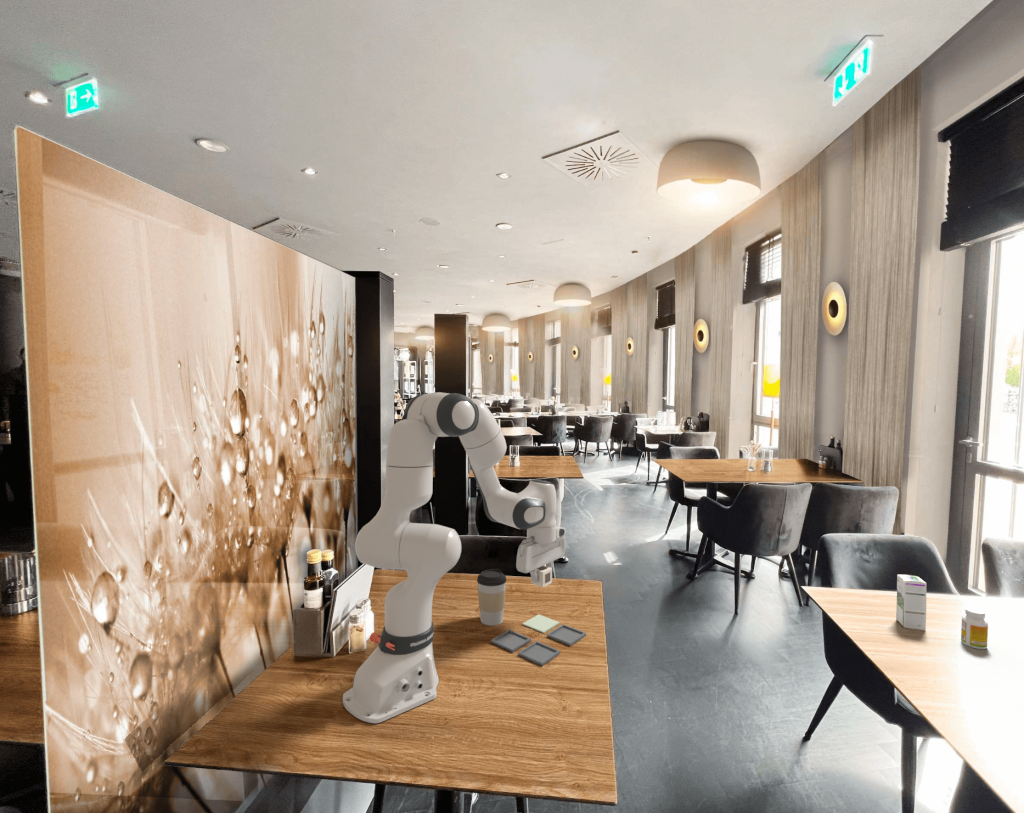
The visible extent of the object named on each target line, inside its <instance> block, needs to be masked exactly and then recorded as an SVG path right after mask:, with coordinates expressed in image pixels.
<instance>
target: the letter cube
mask: <svg viewBox="0 0 1024 813" xmlns="http://www.w3.org/2000/svg"><path fill="white" fill-rule="evenodd" d="M536 573H537V575H538V576H539V581H538V582H536V583H535V582H532V576H531V575H530V583H531V585H535V586H538V587H541V588H545V587H546V586H548V585H551V584H553V567H552V568H550V567H547V566H546V565H543V566H541V567H539V568H537V572H536Z"/></svg>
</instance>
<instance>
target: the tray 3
mask: <svg viewBox="0 0 1024 813" xmlns="http://www.w3.org/2000/svg"><path fill="white" fill-rule="evenodd" d="M586 636H587V632H585V631H583V630H580V629H578V628H577V629H576V628H574V627H573V626H569V625H568V624H564V623H563V624H561V625H559V626H558V627H557V628H554V629H553V630H552V631H550V632H549V633H547V635H546V637H547V638H549V639H552V640H554V641H557V642H559V643H562V644H564V645H567V646H569V647H572V646H573V645H575V644H576V643H577V642H579V641H581V640H582V639H583V638H585V637H586Z"/></svg>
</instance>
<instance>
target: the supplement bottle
mask: <svg viewBox="0 0 1024 813" xmlns="http://www.w3.org/2000/svg"><path fill="white" fill-rule="evenodd" d="M964 612H965V615H963V616H962V618H961V628H960V629H961V630H960V632H961V633H960V641H961V643H962V644H963V645H965V646H967V647H970V648H972V649H977V650H985V649H987V648H988V634H989V622H988V621H987V620H986V619H985V618H986V613H985V612H984V611H983V610H981V609H978V608H975V607H974V608H973V607H965V611H964Z"/></svg>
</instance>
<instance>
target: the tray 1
mask: <svg viewBox="0 0 1024 813" xmlns="http://www.w3.org/2000/svg"><path fill="white" fill-rule="evenodd" d="M531 641H532V637H531V638H530V637H529V636H526V635H523V634H521V633H519V632H517V631H514V630H512V629H507V630H506V631H505V632H502V633H501V634H499V635H497V636H495V637H494V638H492V639H491V640H490V643H491V644H493V645H495V646H496V647H499V648H502V649H503V650H506V651H508V652H510V653H512V654H513V653H514V652H516V651H518V650H519V649H521V648H523V647H524V646H526V645H527V644H529V643H531Z"/></svg>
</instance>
